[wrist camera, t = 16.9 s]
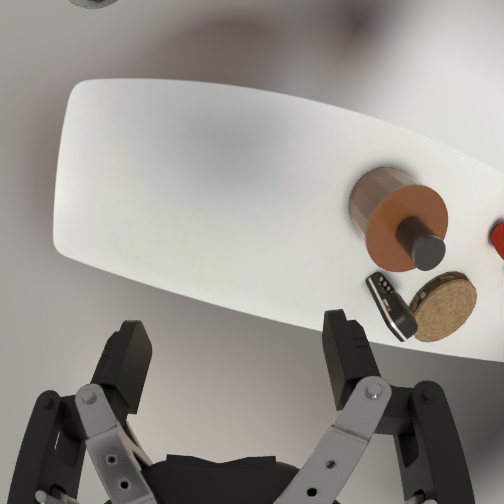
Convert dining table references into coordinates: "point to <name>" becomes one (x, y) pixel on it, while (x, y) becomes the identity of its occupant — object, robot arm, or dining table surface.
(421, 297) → the wood log slice
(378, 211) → the crock lid
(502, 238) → the apple
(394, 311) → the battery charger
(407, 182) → the crock
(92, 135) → the dining table surface
